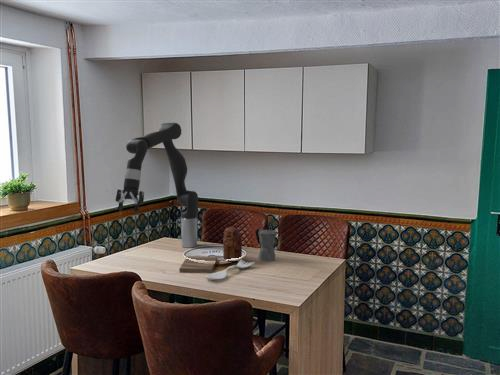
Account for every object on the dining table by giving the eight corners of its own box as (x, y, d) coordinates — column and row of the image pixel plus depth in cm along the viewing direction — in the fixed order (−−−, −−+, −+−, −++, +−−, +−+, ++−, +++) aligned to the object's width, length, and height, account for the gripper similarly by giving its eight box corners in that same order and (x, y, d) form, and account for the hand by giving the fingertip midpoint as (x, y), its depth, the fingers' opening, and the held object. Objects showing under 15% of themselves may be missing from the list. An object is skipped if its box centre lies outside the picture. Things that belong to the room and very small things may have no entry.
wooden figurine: (219, 260, 259) (219, 227, 257) (225, 257, 265) (224, 225, 263) (239, 263, 254) (238, 229, 252) (244, 260, 260) (244, 227, 257)
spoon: (255, 267, 248) (255, 260, 247) (216, 284, 222) (216, 277, 221) (241, 264, 253) (241, 258, 252) (201, 280, 227) (201, 273, 227)
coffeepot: (282, 259, 260) (282, 227, 258) (269, 263, 254) (270, 229, 251) (261, 254, 271) (261, 222, 269) (249, 257, 265) (249, 225, 262)
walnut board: (187, 259, 261) (187, 256, 260) (217, 260, 260) (217, 256, 260) (179, 272, 239) (179, 268, 239) (211, 272, 238) (211, 268, 238)
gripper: (148, 181, 242) (144, 213, 240) (124, 179, 246) (119, 211, 244) (141, 178, 234) (136, 211, 232) (115, 176, 239) (111, 209, 237)
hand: (127, 211), depth 238 cm, fingers open, 8 cm apart
